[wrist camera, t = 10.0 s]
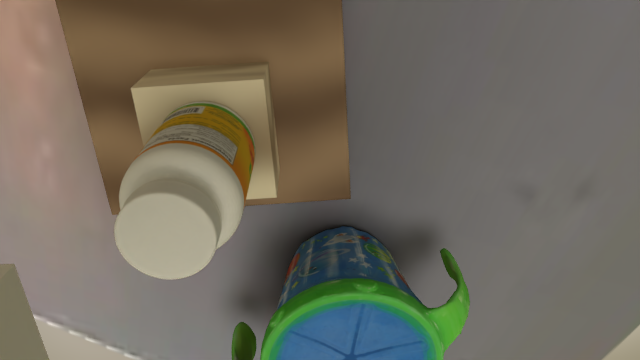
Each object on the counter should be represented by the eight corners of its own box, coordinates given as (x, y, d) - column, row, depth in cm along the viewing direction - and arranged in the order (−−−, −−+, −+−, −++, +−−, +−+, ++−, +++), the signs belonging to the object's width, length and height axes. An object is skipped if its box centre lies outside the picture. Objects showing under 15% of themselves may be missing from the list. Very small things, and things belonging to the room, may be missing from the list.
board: (62, -8, 31) (54, -5, 30) (339, -27, 31) (340, -25, 30) (118, 206, 37) (112, 214, 36) (349, 190, 37) (350, 198, 36)
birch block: (150, 69, 32) (130, 88, 28) (268, 61, 32) (263, 79, 28) (172, 176, 35) (156, 205, 31) (279, 169, 35) (276, 197, 31)
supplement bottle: (230, 204, 31) (200, 314, 22) (143, 163, 30) (74, 261, 21) (273, 128, 29) (259, 215, 20) (181, 80, 28) (124, 151, 19)
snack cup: (430, 176, 36) (472, 260, 27) (458, 295, 41) (502, 402, 32) (216, 235, 38) (187, 334, 29) (265, 343, 42) (253, 459, 33)
